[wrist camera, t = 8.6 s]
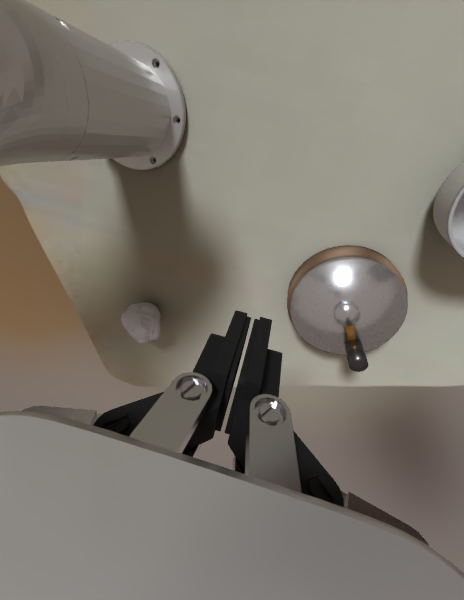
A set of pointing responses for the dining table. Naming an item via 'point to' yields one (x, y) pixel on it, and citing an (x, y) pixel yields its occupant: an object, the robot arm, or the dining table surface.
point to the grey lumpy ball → (142, 322)
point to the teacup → (451, 209)
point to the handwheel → (348, 306)
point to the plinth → (335, 253)
